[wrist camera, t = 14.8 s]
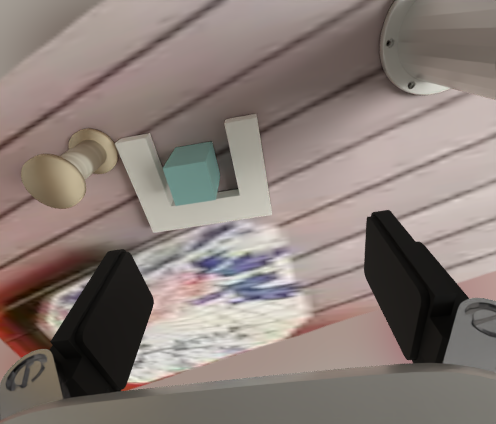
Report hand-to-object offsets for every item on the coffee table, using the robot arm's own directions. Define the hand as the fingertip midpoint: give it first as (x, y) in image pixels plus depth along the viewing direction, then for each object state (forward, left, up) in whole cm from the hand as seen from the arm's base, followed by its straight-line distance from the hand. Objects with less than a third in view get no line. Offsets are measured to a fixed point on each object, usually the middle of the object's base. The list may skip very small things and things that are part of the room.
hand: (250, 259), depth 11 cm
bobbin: (+21, +2, -28) cm, 35 cm away
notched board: (+8, +8, -28) cm, 30 cm away
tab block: (+8, +6, -28) cm, 30 cm away
